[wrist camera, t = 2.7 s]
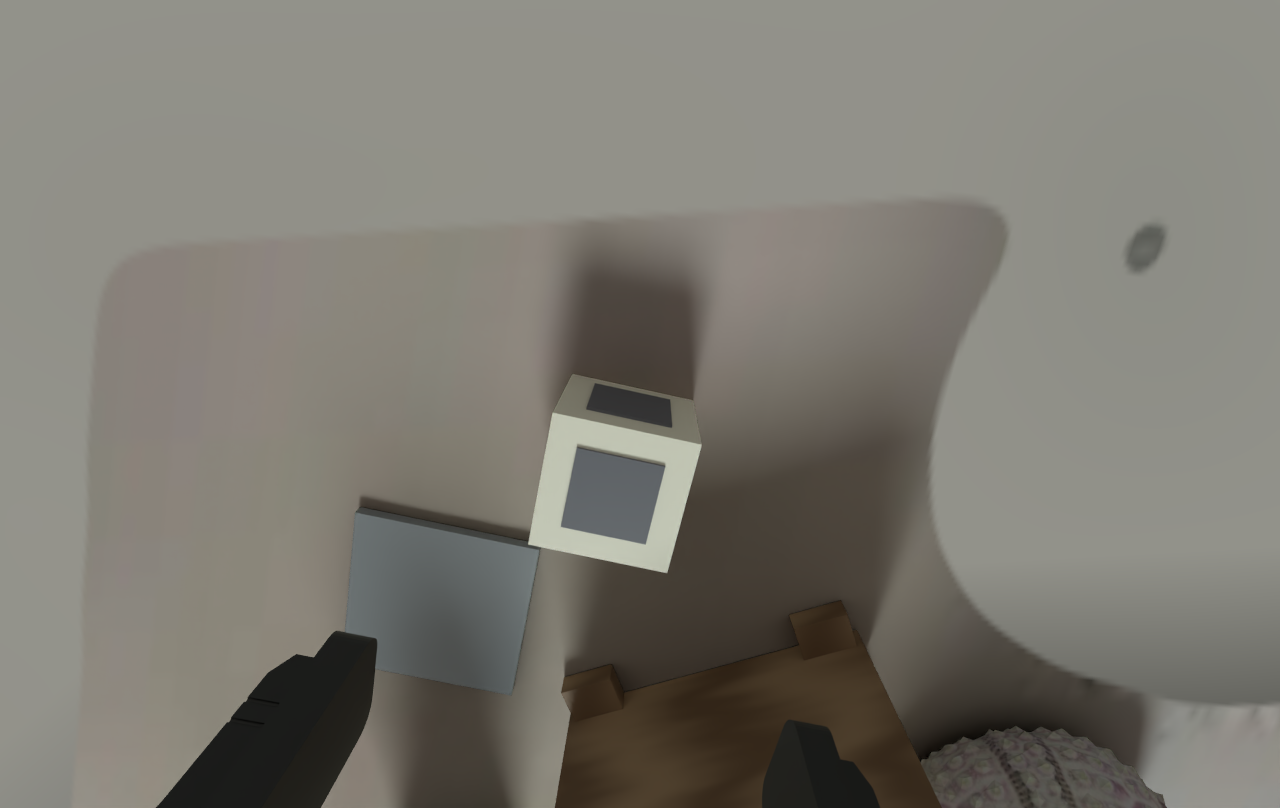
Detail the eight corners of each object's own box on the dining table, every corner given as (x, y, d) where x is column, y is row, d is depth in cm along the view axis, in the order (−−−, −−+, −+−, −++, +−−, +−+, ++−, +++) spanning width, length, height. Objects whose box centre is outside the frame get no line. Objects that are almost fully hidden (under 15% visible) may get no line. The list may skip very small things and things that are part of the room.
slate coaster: (541, 544, 27) (539, 550, 26) (513, 687, 29) (511, 695, 29) (360, 507, 27) (355, 512, 26) (347, 655, 29) (342, 662, 29)
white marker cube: (665, 507, 26) (666, 574, 22) (551, 483, 26) (527, 546, 21) (693, 397, 25) (702, 443, 20) (573, 370, 25) (552, 410, 20)
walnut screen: (847, 598, 27) (984, 876, 16) (873, 684, 29) (1015, 997, 17) (558, 678, 29) (495, 981, 18) (595, 756, 31) (559, 1084, 19)
